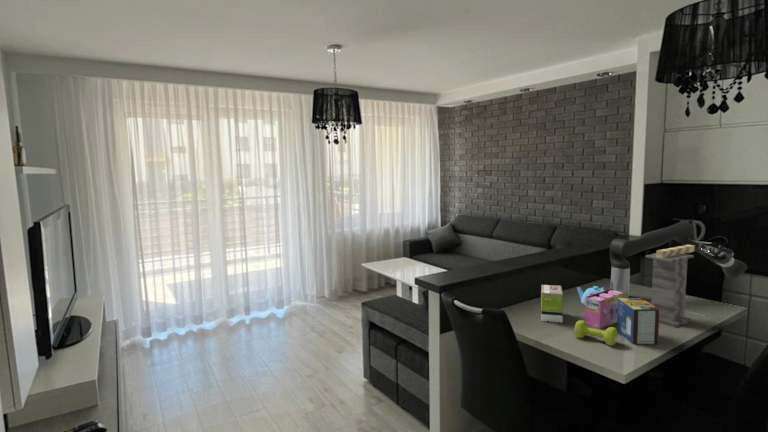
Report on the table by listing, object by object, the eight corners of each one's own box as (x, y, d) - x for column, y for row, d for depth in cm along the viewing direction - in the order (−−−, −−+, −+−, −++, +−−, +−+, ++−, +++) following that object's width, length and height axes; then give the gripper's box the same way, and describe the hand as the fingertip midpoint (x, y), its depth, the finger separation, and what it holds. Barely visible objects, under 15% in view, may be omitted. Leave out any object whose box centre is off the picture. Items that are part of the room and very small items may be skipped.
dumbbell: (572, 338, 187) (572, 322, 186) (579, 333, 193) (579, 317, 192) (613, 348, 176) (613, 332, 175) (618, 342, 181) (619, 326, 180)
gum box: (610, 314, 216) (611, 288, 214) (626, 318, 209) (628, 291, 208) (583, 324, 203) (584, 296, 201) (599, 329, 196) (600, 300, 195)
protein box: (640, 331, 193) (641, 297, 192) (658, 345, 178) (660, 309, 176) (616, 330, 194) (617, 297, 193) (632, 344, 179) (633, 308, 177)
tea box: (540, 311, 222) (541, 283, 220) (561, 313, 219) (562, 285, 217) (540, 321, 208) (541, 292, 206) (563, 323, 205) (563, 293, 203)
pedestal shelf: (670, 328, 195) (674, 260, 192) (640, 319, 207) (643, 255, 204) (692, 321, 203) (696, 255, 200) (661, 312, 216) (664, 250, 212)
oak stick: (662, 257, 197) (663, 251, 196) (656, 256, 199) (656, 250, 199) (694, 251, 209) (694, 245, 209) (687, 250, 212) (688, 244, 212)
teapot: (575, 301, 237) (575, 282, 236) (603, 301, 236) (603, 282, 235) (585, 310, 222) (586, 290, 221) (615, 310, 221) (616, 290, 219)
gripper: (709, 249, 233) (696, 237, 225) (741, 253, 220) (728, 240, 213) (705, 261, 232) (692, 249, 224) (736, 266, 219) (723, 254, 212)
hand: (709, 245), depth 218 cm, fingers open, 8 cm apart
